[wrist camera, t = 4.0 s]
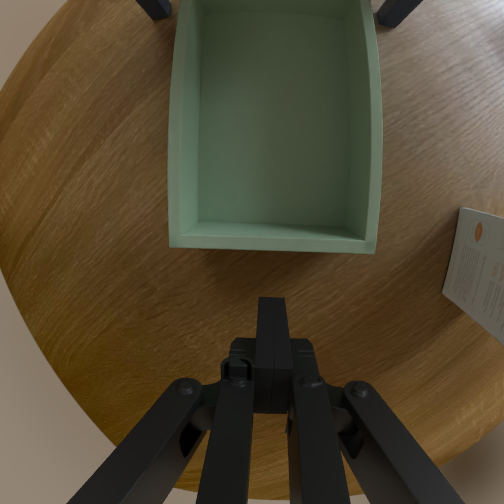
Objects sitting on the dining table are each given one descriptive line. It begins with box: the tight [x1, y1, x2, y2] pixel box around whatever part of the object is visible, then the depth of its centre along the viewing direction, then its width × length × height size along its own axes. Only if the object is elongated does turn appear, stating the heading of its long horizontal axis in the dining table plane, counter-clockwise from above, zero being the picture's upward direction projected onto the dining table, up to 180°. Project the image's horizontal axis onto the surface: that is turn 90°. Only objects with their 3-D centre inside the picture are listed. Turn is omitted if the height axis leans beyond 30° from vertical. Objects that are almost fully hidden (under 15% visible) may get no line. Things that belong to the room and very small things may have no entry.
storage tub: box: [167, 0, 383, 254], centre depth 16 cm, size 18×12×5 cm, turn 179°
